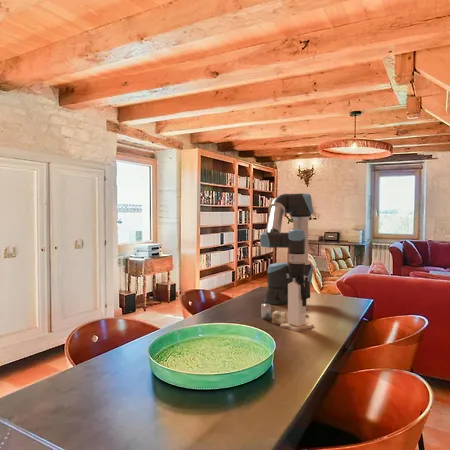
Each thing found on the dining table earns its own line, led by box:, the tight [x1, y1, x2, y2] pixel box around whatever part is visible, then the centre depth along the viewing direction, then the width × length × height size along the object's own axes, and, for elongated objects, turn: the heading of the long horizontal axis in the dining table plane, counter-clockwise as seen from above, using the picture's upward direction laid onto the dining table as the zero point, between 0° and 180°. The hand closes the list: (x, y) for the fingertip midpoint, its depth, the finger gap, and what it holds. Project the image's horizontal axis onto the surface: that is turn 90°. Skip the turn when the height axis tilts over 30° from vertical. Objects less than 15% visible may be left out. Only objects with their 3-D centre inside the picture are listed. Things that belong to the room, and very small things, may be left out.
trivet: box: [279, 321, 314, 333], centre depth 175 cm, size 11×11×1 cm
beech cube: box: [271, 310, 287, 325], centre depth 182 cm, size 5×5×5 cm
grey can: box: [260, 302, 272, 321], centre depth 190 cm, size 5×5×7 cm
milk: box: [287, 278, 307, 326], centre depth 175 cm, size 6×6×22 cm
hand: (296, 311), depth 175 cm, fingers closed on milk, 6 cm apart
